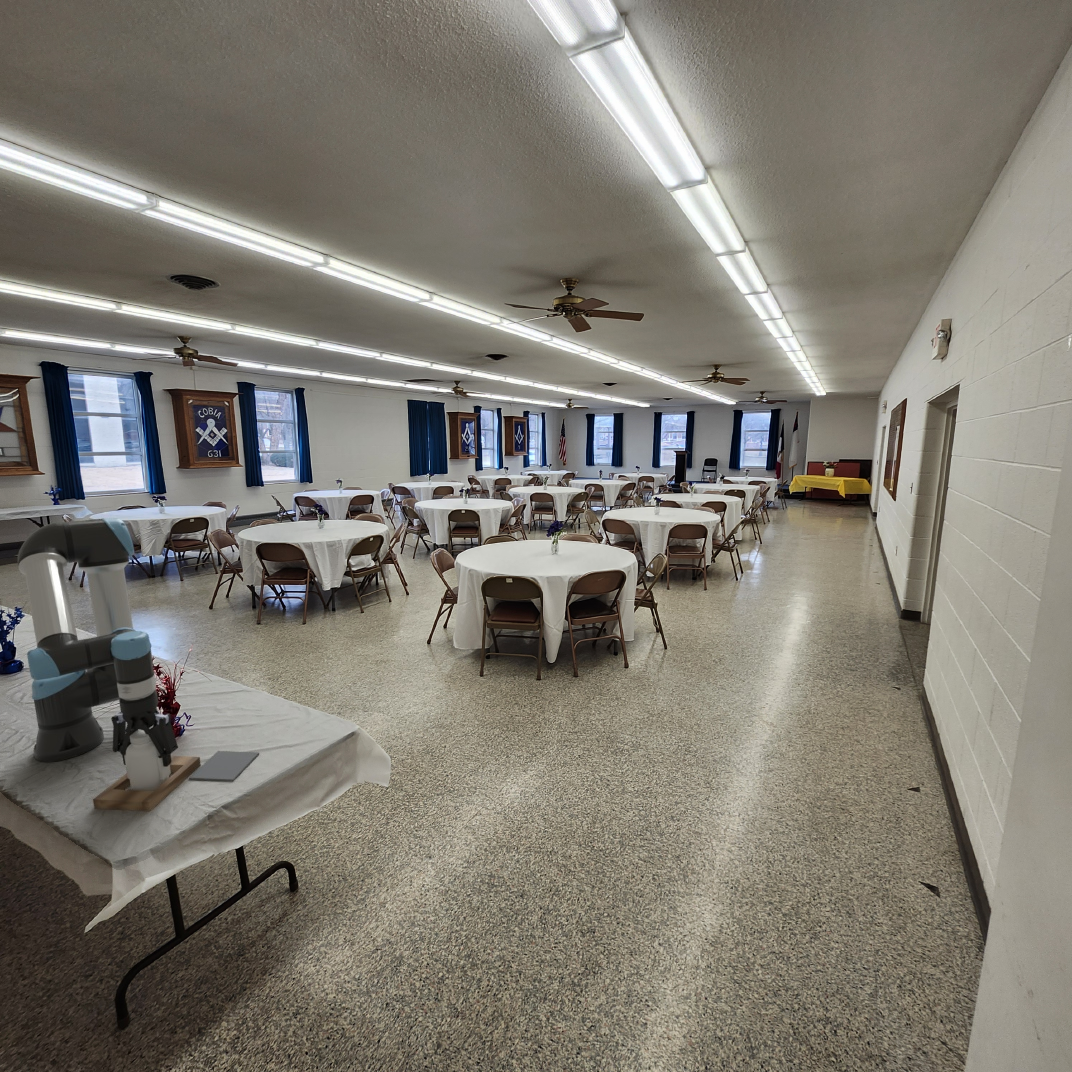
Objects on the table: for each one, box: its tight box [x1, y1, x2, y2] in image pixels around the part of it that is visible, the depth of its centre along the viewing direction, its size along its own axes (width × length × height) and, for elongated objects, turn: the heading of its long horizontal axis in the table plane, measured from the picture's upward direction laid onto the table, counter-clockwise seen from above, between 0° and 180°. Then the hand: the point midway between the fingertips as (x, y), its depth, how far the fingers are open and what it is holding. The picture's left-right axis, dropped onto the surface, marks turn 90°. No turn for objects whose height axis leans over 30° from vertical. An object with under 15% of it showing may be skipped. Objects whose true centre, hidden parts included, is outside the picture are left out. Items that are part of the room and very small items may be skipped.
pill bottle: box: [126, 727, 170, 791], centre depth 135 cm, size 8×8×15 cm
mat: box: [188, 750, 260, 782], centre depth 144 cm, size 12×12×1 cm
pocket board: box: [92, 755, 202, 812], centre depth 136 cm, size 14×18×2 cm
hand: (149, 775), depth 135 cm, fingers closed on pill bottle, 8 cm apart
